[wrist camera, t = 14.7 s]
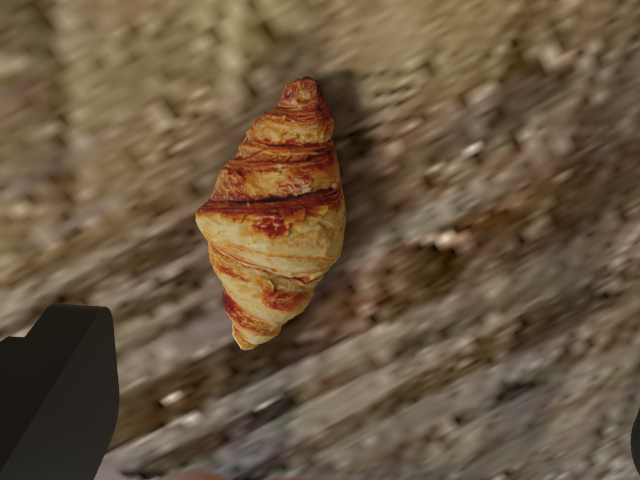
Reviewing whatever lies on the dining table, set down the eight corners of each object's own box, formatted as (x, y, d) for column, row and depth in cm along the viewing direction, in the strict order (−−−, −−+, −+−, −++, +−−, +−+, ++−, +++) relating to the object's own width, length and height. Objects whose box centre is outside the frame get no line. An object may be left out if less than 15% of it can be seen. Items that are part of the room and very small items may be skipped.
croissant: (288, 316, 52) (331, 378, 46) (171, 329, 47) (202, 401, 41) (345, 68, 43) (409, 105, 37) (206, 52, 38) (253, 93, 32)
